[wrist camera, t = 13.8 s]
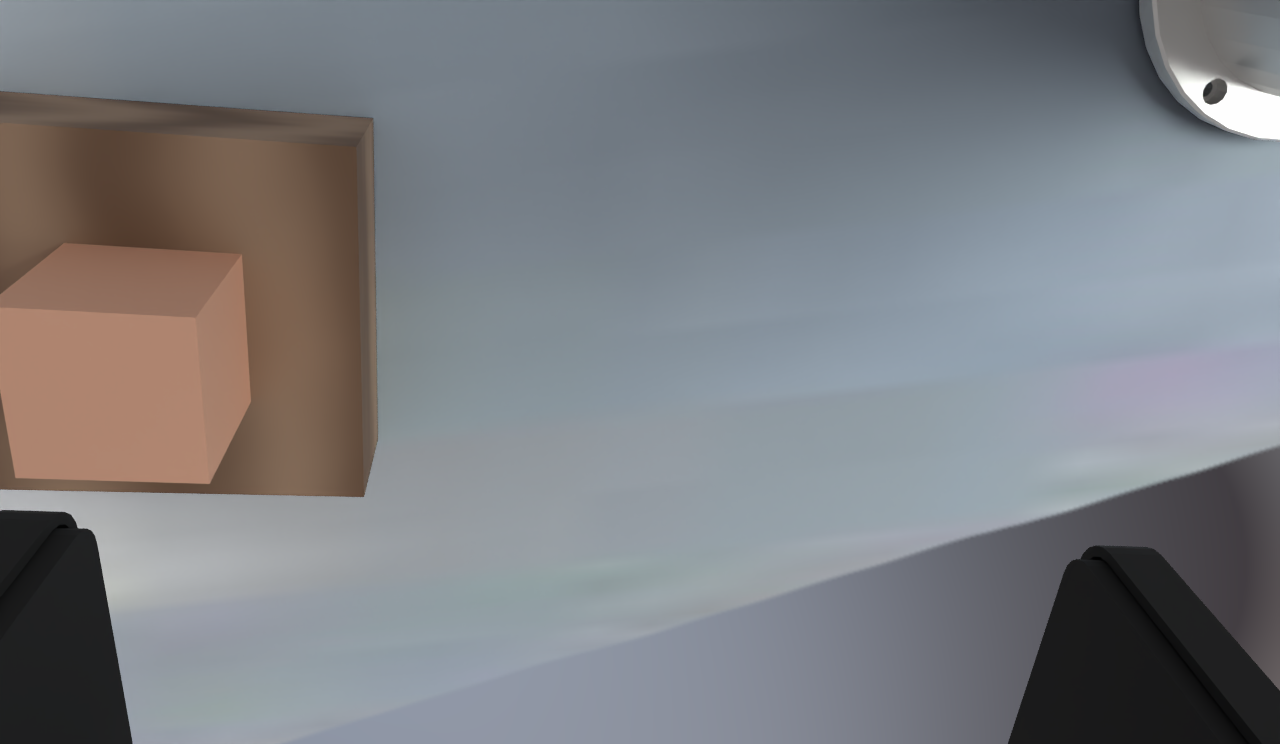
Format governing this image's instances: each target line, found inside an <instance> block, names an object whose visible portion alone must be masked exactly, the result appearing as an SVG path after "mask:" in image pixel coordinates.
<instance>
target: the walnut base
mask: <svg viewBox="0 0 1280 744" xmlns="http://www.w3.org/2000/svg"><path fill="white" fill-rule="evenodd" d="M63 243H72V244H88V245H104V246H121V247H137V248H153V249H169V250H185V251H201V252H217V253H233V254H242V263H243V279H244V296H245V312H246V328H247V345H248V361H249V377H250V393H251V403H250V405H249V407H248V409H247V411H246V413H245V415H244V417H243V419H242V421H241V423H240V425H239V427H238V429H237V431H236V432H235V434H234V436H233V438H232V440H231V442H230V444H229V446H228V448H227V450H226V452H225V454H224V456H223V458H222V460H221V462H220V464H219V466H218V468H217V470H216V472H215V474H214V476H213V478H212V480H211V482H210V484H195V483H162V482H129V481H95V480H62V479H29V478H15V472H14V467H13V461H12V455H11V450H10V444H9V438H8V433H7V427H6V421H5V416H4V410H3V404H2V399H1V393H0V489H7V490H55V491H103V492H152V493H200V494H249V495H297V496H345V497H364V495H365V490H366V486H367V482H368V478H369V474H370V470H371V466H372V461H373V457H374V453H375V449H376V445H377V441H378V417H377V347H376V277H375V207H374V137H373V118H361V117H347V116H333V115H319V114H306V113H292V112H278V111H264V110H250V109H236V108H223V107H209V106H195V105H181V104H167V103H153V102H140V101H126V100H112V99H98V98H84V97H71V96H57V95H43V94H29V93H15V92H1V91H0V294H1V293H3V292H4V291H5V290H6V289H8V288H9V287H10V286H11V285H13V284H14V283H15V282H16V281H18V280H19V279H20V278H21V277H22V276H24V275H25V274H26V273H27V272H29V271H30V270H31V269H32V268H34V267H35V266H36V265H37V264H39V263H40V262H41V261H42V260H44V259H45V258H46V257H47V256H49V255H50V254H51V253H52V252H53V251H55V250H56V249H57V248H58V247H60V246H61V245H62V244H63Z"/></svg>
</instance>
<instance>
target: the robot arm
mask: <svg viewBox="0 0 1280 744" xmlns="http://www.w3.org/2000/svg"><path fill="white" fill-rule="evenodd" d="M1139 16H1140V20H1141V25H1142V30H1143V35H1144V40H1145V45H1146V49H1147V51H1148V53H1149V56H1150V58H1151V60H1152V63H1153V65H1154V67H1155V69H1156V72H1157V74H1158V76H1159V78H1160V79H1161V81H1162V82H1163V83H1164V85H1165V86H1166V87H1167V89H1168V90H1169V91H1170V92H1171V94H1172V95H1173V96H1174V98H1175V99H1176V100H1177V101H1178V102H1179V103H1180V104H1181V105H1183V106H1184V107H1185V108H1186V109H1188V110H1189V111H1190V112H1191V113H1193V114H1194V115H1195V116H1196V117H1198V118H1199V119H1200V120H1203V121H1205V122H1207V123H1209V124H1211V125H1214V126H1216V127H1218V128H1220V129H1222V130H1225V131H1227V132H1231V133H1234V134H1238V135H1241V136H1244V137H1248V138H1251V139H1254V140H1266V141H1279V142H1280V0H1139ZM0 744H132V737H131V731H130V726H129V720H128V715H127V709H126V703H125V698H124V692H123V687H122V681H121V675H120V670H119V664H118V658H117V653H116V647H115V642H114V636H113V630H112V625H111V619H110V614H109V608H108V602H107V597H106V591H105V585H104V580H103V574H102V569H101V563H100V557H99V552H98V546H97V542H96V538H95V535H94V534H93V532H92V531H91V530H89V529H78V528H77V525H76V522H75V520H74V519H73V517H72V516H71V515H70V514H68V513H66V512H46V511H15V510H2V511H0ZM1008 744H1280V691H1279V689H1278V688H1277V687H1276V686H1275V685H1274V684H1273V683H1272V681H1271V680H1270V679H1269V678H1268V677H1267V676H1266V675H1265V673H1264V672H1263V671H1262V670H1261V669H1260V668H1259V667H1258V665H1257V664H1256V663H1255V662H1254V661H1253V660H1252V659H1251V657H1250V656H1249V655H1248V654H1247V653H1246V652H1245V650H1244V649H1243V648H1242V647H1241V646H1240V645H1239V644H1238V642H1237V641H1236V640H1235V639H1234V638H1233V637H1232V636H1231V634H1230V633H1229V632H1228V631H1227V630H1226V629H1225V628H1224V627H1223V625H1222V624H1221V623H1220V622H1219V621H1218V620H1217V618H1216V617H1215V616H1214V615H1213V614H1212V613H1211V612H1210V610H1209V609H1208V608H1207V607H1206V606H1205V605H1204V604H1203V602H1202V601H1201V600H1200V599H1199V598H1198V597H1197V596H1196V595H1195V593H1194V592H1193V591H1192V590H1191V589H1190V587H1189V586H1188V585H1187V584H1186V583H1185V582H1184V581H1183V579H1182V578H1181V577H1180V576H1179V575H1178V574H1177V573H1176V571H1175V570H1174V569H1173V568H1172V567H1171V566H1170V565H1169V563H1168V562H1167V561H1166V560H1165V559H1164V558H1163V557H1162V556H1161V555H1160V554H1159V553H1158V552H1156V550H1154V549H1151V548H1148V547H1127V546H1093V547H1090V548H1088V549H1087V550H1086V551H1085V552H1084V554H1083V555H1082V557H1081V559H1076V560H1073V561H1071V562H1070V563H1069V564H1068V565H1067V567H1066V570H1065V572H1064V574H1063V578H1062V580H1061V583H1060V586H1059V590H1058V593H1057V596H1056V599H1055V602H1054V605H1053V608H1052V611H1051V614H1050V617H1049V620H1048V623H1047V626H1046V629H1045V632H1044V635H1043V638H1042V641H1041V644H1040V648H1039V650H1038V654H1037V657H1036V660H1035V663H1034V666H1033V669H1032V672H1031V675H1030V678H1029V681H1028V684H1027V687H1026V690H1025V693H1024V696H1023V699H1022V702H1021V705H1020V709H1019V712H1018V714H1017V718H1016V721H1015V724H1014V727H1013V730H1012V733H1011V736H1010V739H1009V742H1008Z"/></svg>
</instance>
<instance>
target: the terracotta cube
mask: <svg viewBox="0 0 1280 744" xmlns="http://www.w3.org/2000/svg"><path fill="white" fill-rule="evenodd" d="M0 393H1V399H2V404H3V410H4V416H5V421H6V427H7V433H8V438H9V444H10V450H11V455H12V461H13V467H14V472H15V478H29V479H62V480H95V481H129V482H162V483H195V484H210V482H211V480H212V478H213V476H214V474H215V472H216V470H217V468H218V466H219V464H220V462H221V460H222V458H223V456H224V454H225V452H226V450H227V448H228V446H229V444H230V442H231V440H232V438H233V436H234V434H235V432H236V431H237V429H238V427H239V425H240V423H241V421H242V419H243V417H244V415H245V413H246V411H247V409H248V407H249V405H250V403H251V393H250V377H249V361H248V345H247V328H246V312H245V296H244V279H243V263H242V254H233V253H217V252H201V251H185V250H169V249H153V248H137V247H121V246H104V245H88V244H72V243H63V244H62V245H61V246H60V247H58V248H57V249H56V250H55V251H53V252H52V253H51V254H50V255H49V256H47V257H46V258H45V259H44V260H42V261H41V262H40V263H39V264H37V265H36V266H35V267H34V268H32V269H31V270H30V271H29V272H27V273H26V274H25V275H24V276H22V277H21V278H20V279H19V280H18V281H16V282H15V283H14V284H13V285H11V286H10V287H9V288H8V289H6V290H5V291H4V292H3V293H1V294H0Z"/></svg>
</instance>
